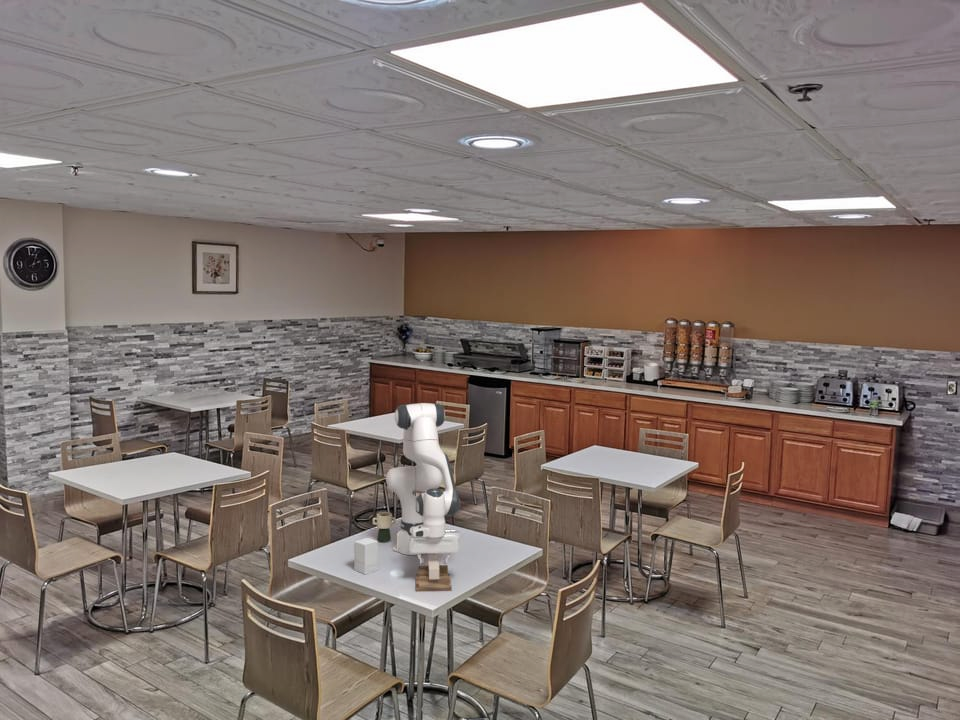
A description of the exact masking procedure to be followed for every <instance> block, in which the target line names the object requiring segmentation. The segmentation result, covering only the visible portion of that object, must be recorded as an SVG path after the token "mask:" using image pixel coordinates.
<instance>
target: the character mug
mask: <svg viewBox="0 0 960 720" xmlns="http://www.w3.org/2000/svg"><path fill="white" fill-rule="evenodd" d="M375 520H376V521H375ZM396 523H397V518H396V517H394V516H393V514H392V512H389V511H380V512H378V513H376V517H373V518H372V525H376V527H377V529H378V531H377V532H378V533H377V541H378V542H389V541H390V540H391V529H390V528H392V526H393V525H395V524H396Z"/></svg>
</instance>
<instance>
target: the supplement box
mask: <svg viewBox="0 0 960 720" xmlns="http://www.w3.org/2000/svg"><path fill="white" fill-rule="evenodd" d="M353 543H354V545H353V546H354V548H353V549H354V552H353V553H354V554H353V555H354V557H353V559H354V562H353V563H354V565H353V567H354V569H353V570H354V571H356V572H358V573H361V574H364V575H368V574H370V573H374V572H376V571H378V570H379V540H375V539H373V538H369V537H365V538H362V539H359V540H355V541H354V542H353Z"/></svg>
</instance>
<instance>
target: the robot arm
mask: <svg viewBox="0 0 960 720" xmlns="http://www.w3.org/2000/svg"><path fill="white" fill-rule="evenodd" d="M445 419H446V411H445V408H444V406H443V405H442V404H440V403H436V402H435V403H430V402H429V403H427V402H420V403H410V404H400V405H398V406H397V407H396V409H395V412H394V421H395V424H396V426H397V427H398V428H399V429H401V430H402V429H403V442H402V443H403V445H402V452H403V453H402V454H403V455H404V457H405V458H406V459H408V460H410V461H412V462H414V463H415V464H416V465H412V466H409V465H408V466H397V467H393V468H390V469H389V470H388V471H387V473H386V475H385V483H386V485H387V487H388V489H390V490H391V491H393V493H395V494H396V496H397V497H398V499H399V501H400V506H401V520H400V530H398V532H397V533H396V543H395V545H394V546H393V548H392V551H393V552H397V553H400V554H403V555H406V556H407V555H408V556H417V557H418V560H419V564H420V565H424V562H425V559H424V558H422V555H424V554H446V557H443V560H442V561H443V565H447V564H448V560H449V558H450V556H451V554H458V552H459V551H460V547H459V541H460V538H461V534H460V532H459V531H458V530H456V529H446V519H445V516H447V517H449V516H451V517H452V516H453V517H454V516H455V515H456V514H457V513H458V512H459V511H460V510H461V499H460V496H459V493H458V490H457V487H456V483H455V479H454V475H453V474H454V473H453V470H452V466H451V463H450V459H449V456H448V454H447V453H445V452H443V450H442V448H441V446H440V443H439V442H440V441H439V432H438V427H441V426H442V425H443V424H444V423H445ZM442 483H443V486H444V491H443V490H442V489H439V488H440V487H441V485H442ZM415 491H425V492H422V493H420V494H418V496H416V495H414V493H413V492H415Z"/></svg>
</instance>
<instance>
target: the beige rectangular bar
mask: <svg viewBox="0 0 960 720" xmlns="http://www.w3.org/2000/svg"><path fill="white" fill-rule="evenodd" d="M427 558H428V559H427V560H428V561H427V565H428V571H429V579H439V565H440V562H439V555H438V554H431V555H430V554H428V557H427Z"/></svg>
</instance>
